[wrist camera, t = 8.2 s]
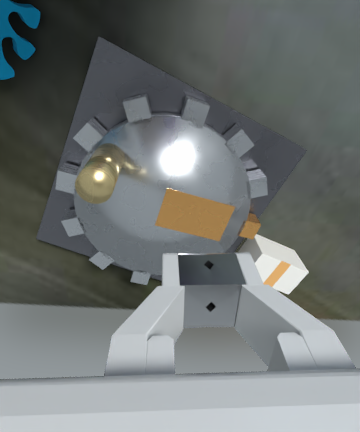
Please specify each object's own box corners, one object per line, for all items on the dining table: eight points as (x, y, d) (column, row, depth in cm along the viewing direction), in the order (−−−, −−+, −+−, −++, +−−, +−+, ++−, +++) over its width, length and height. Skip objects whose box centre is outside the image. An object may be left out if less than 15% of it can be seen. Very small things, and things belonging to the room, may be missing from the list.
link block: (293, 249, 34) (308, 272, 30) (276, 270, 35) (288, 294, 32) (251, 231, 32) (262, 253, 29) (235, 254, 34) (243, 277, 30)
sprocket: (168, 35, 21) (170, 27, 14) (297, 201, 29) (339, 248, 22) (21, 194, 27) (-29, 244, 20) (161, 298, 34) (160, 360, 28)
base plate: (302, 147, 27) (307, 150, 26) (202, 289, 36) (203, 295, 35) (101, 36, 22) (98, 36, 21) (39, 233, 31) (36, 238, 30)
